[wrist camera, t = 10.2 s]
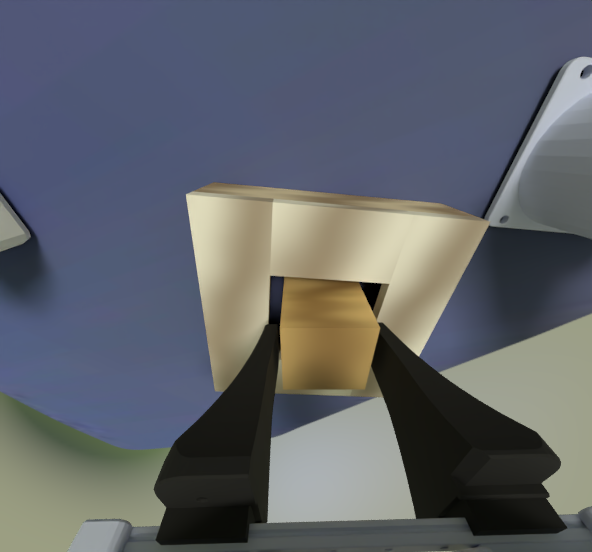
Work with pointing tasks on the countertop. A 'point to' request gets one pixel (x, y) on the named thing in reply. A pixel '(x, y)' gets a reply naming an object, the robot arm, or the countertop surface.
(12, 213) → the pepper shaker
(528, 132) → the robot arm
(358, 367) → the ochre peg
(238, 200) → the posting box
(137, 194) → the countertop surface
